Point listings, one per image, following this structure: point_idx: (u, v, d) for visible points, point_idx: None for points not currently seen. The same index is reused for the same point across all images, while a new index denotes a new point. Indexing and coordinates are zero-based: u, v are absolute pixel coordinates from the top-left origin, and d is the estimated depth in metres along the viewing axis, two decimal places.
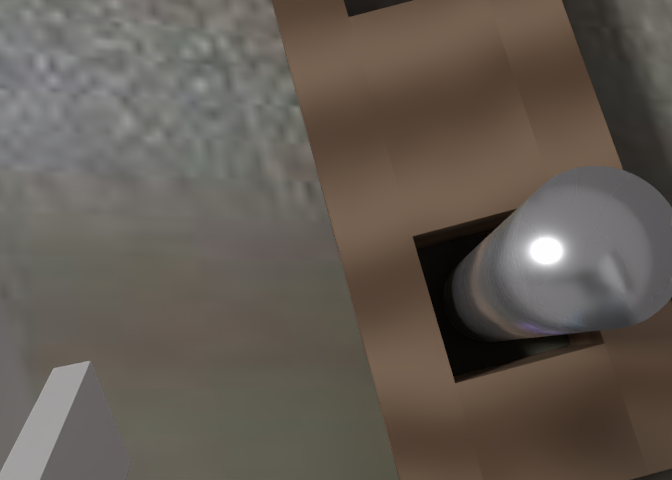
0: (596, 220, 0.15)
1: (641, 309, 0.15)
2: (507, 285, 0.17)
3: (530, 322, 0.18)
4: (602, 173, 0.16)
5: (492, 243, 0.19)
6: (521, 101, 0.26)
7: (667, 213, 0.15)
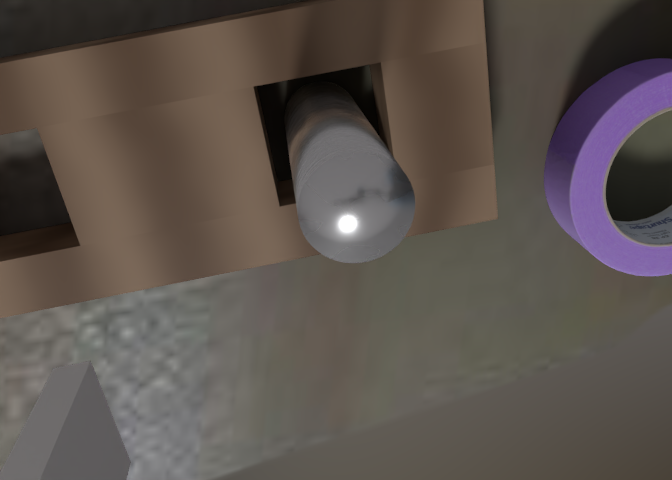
0: (338, 209, 0.21)
1: (404, 188, 0.21)
2: None
3: None
4: (303, 200, 0.21)
5: None
6: (160, 105, 0.29)
7: (338, 161, 0.21)
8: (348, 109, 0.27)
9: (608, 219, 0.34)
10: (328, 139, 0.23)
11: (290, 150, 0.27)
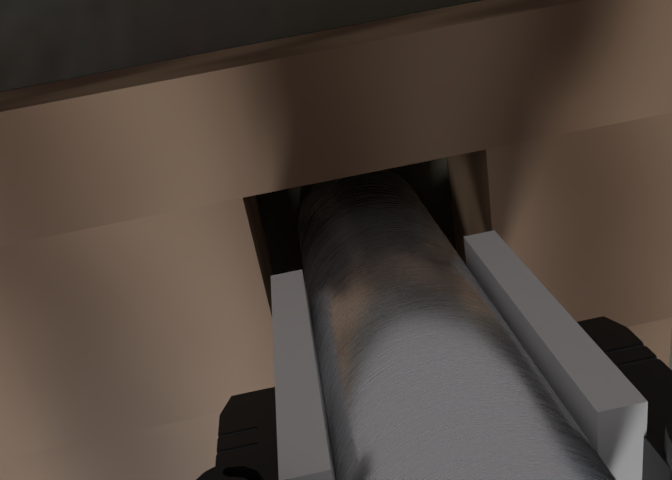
0: None
1: None
2: None
3: None
4: None
5: None
6: (63, 235, 0.15)
7: None
8: (438, 261, 0.13)
9: None
10: (435, 420, 0.09)
11: (319, 350, 0.13)
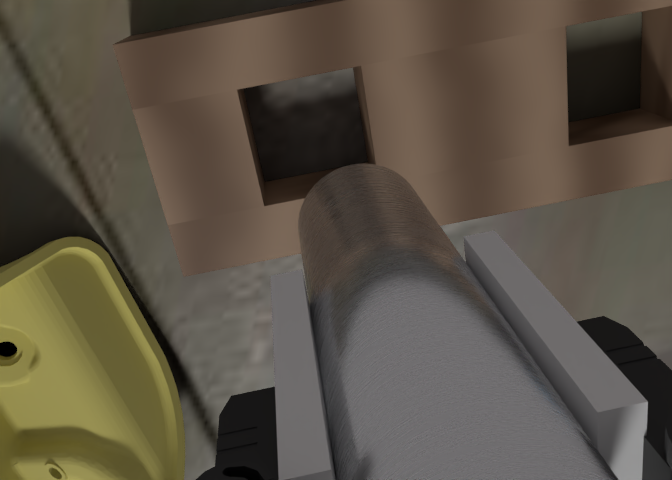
0: None
1: None
2: None
3: None
4: None
5: None
6: (477, 44, 0.30)
7: None
8: (439, 261, 0.13)
9: None
10: (437, 421, 0.09)
11: (320, 351, 0.13)
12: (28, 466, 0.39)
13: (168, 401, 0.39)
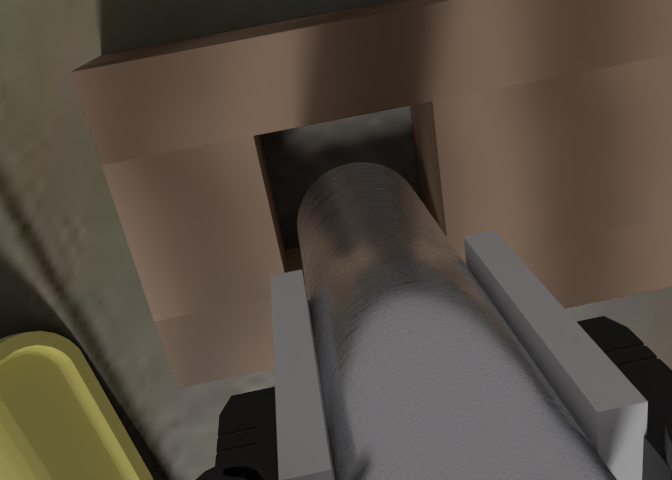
0: None
1: None
2: None
3: None
4: None
5: None
6: (599, 70, 0.21)
7: None
8: (436, 257, 0.13)
9: None
10: (432, 412, 0.09)
11: (319, 346, 0.13)
12: None
13: None
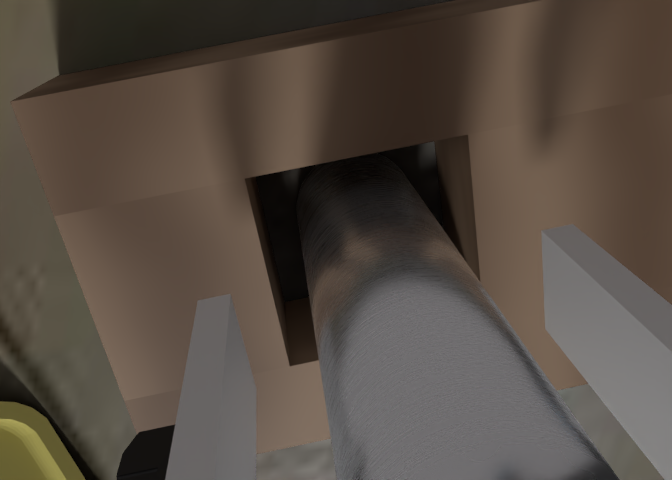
0: None
1: None
2: None
3: None
4: None
5: None
6: None
7: (462, 467, 0.08)
8: (423, 232, 0.15)
9: None
10: (413, 357, 0.10)
11: (315, 313, 0.14)
12: None
13: None
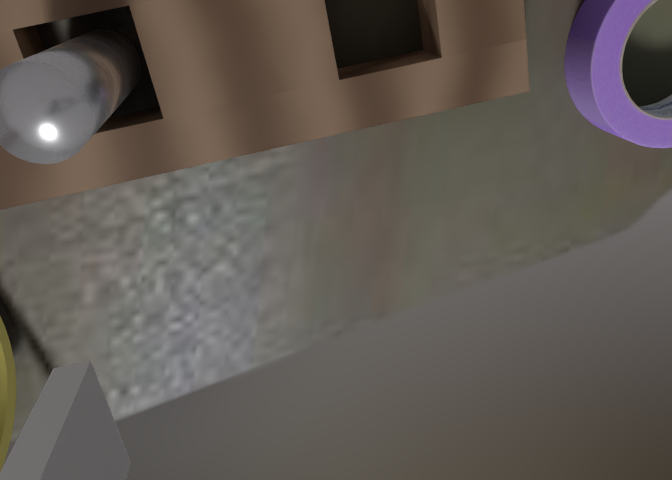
0: (21, 114, 0.24)
1: (77, 94, 0.24)
2: None
3: (99, 126, 0.28)
4: None
5: None
6: None
7: (11, 70, 0.24)
8: (85, 43, 0.30)
9: (624, 93, 0.39)
10: None
11: None
12: None
13: (0, 352, 0.42)
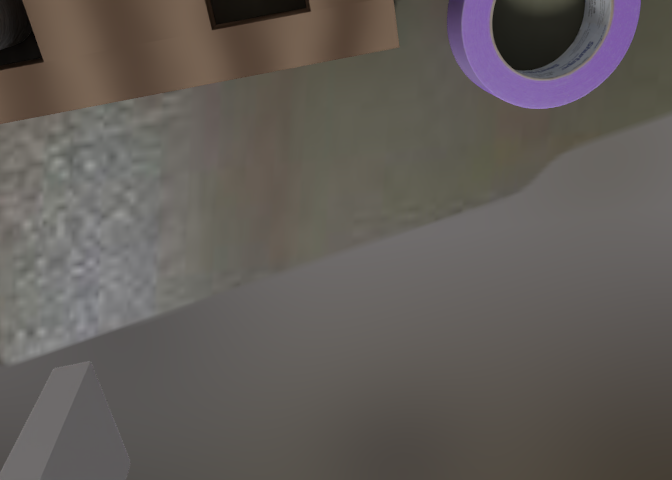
0: None
1: None
2: None
3: None
4: None
5: None
6: None
7: None
8: None
9: (496, 53, 0.41)
10: None
11: None
12: None
13: None
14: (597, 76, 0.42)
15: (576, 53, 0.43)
